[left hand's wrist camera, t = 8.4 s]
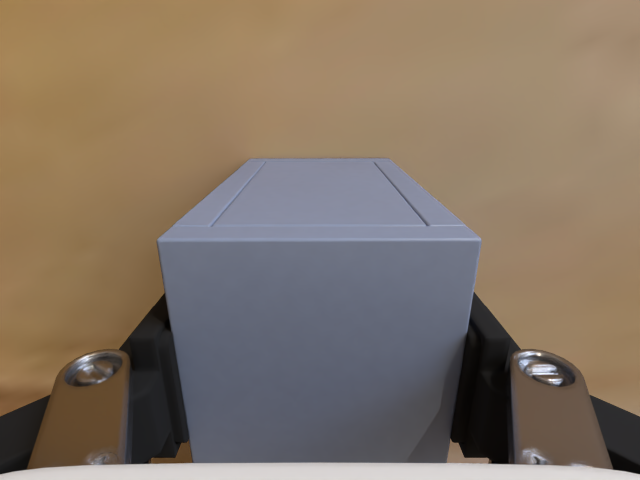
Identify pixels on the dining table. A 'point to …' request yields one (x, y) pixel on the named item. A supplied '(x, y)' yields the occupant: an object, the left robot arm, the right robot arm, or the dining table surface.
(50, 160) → the dining table surface
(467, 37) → the dining table surface
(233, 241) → the cabinet
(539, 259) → the dining table surface
